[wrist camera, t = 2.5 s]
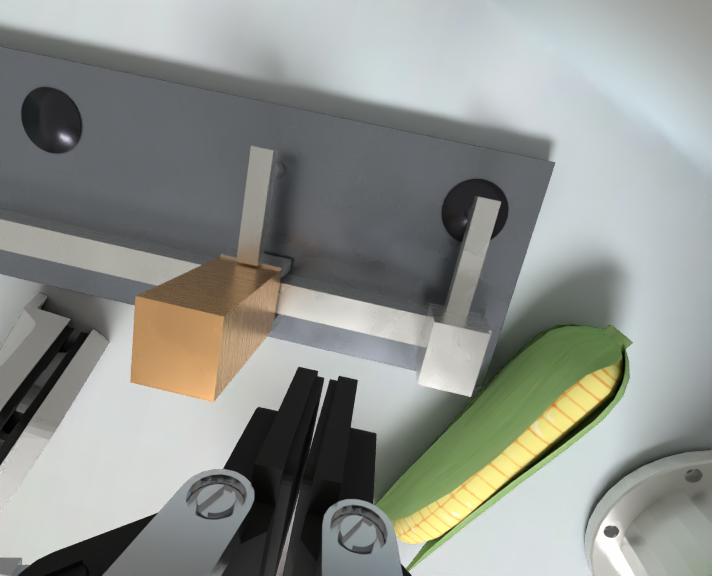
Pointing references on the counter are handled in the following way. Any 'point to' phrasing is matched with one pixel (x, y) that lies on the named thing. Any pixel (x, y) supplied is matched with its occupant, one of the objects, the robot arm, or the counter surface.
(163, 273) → the gauge beam
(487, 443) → the edible corn
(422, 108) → the counter surface
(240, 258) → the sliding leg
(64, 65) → the flange plate
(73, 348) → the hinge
